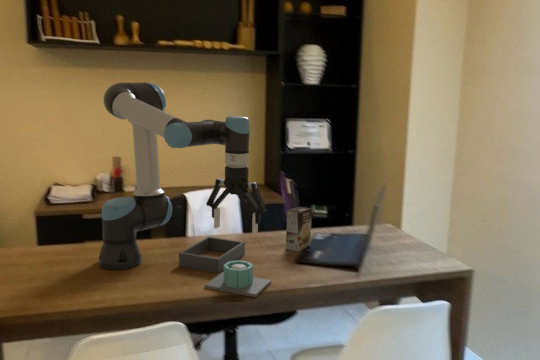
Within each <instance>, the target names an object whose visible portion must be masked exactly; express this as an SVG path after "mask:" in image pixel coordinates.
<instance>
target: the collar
mask: <svg viewBox="0 0 540 360" xmlns="http://www.w3.org/2000/svg"><path fill="white" fill-rule="evenodd" d="M235 264H243V265H245V266H246V268H245V269H232V268H231V266H232V265H235ZM223 272H224V284H225V285H226V286H227V287H233V288H244V287H249V286H250V285H251V284H252V283H253V277H254V264H252V263H251V262H249V261H245V260H239V259H238V260H236V261H229V262H227V263H226V264H224V270H223Z"/></svg>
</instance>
